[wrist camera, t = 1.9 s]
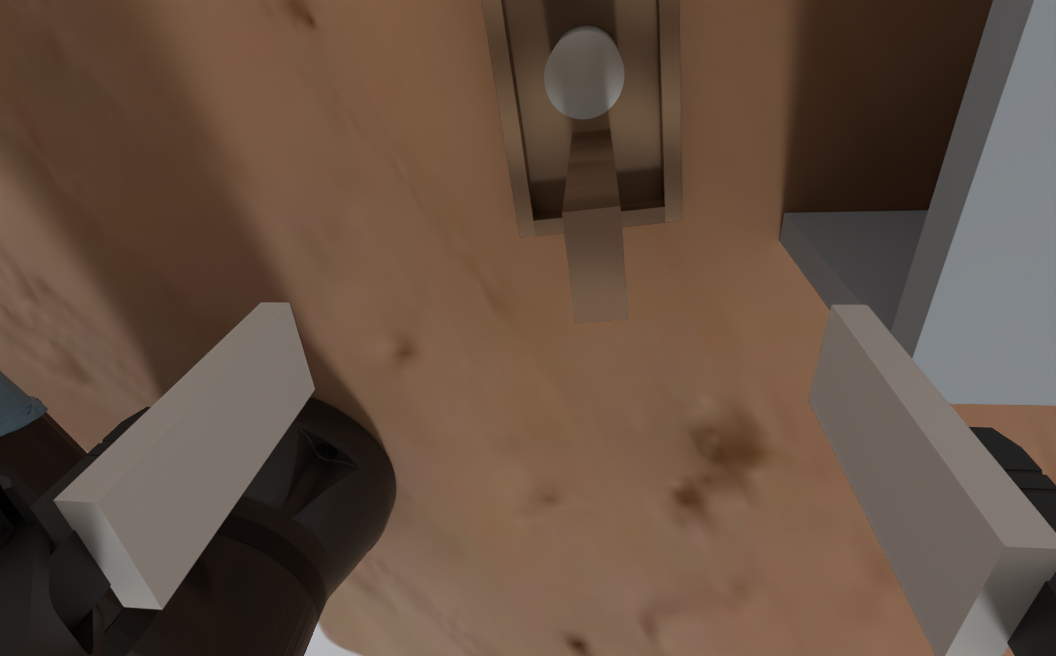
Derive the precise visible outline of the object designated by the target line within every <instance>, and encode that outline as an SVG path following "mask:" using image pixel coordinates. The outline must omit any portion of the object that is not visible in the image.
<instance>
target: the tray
mask: <svg viewBox="0 0 1056 656" xmlns="http://www.w3.org/2000/svg"><path fill="white" fill-rule="evenodd" d="M482 6H483V12H484V18H485V24H486V30H487V37H488V43H489V49H490V55H491V61H492V68H493V74H494V80H495V86H496V92H497V99H498V105H499V111H500V117H501V123H502V130H503V136H504V142H505V148H506V155H507V161H508V167H509V173H510V179H511V186H512V192H513V198H514V204H515V210H516V217H517V223H518V229H519V235H520V238H521V237H531V236H541V235H550V234H560V233H565V242H566V250H567V258H568V267H569V275H570V283H571V292H572V300H573V308H574V317H575V323H587V322H599V321H612V320H625V319H628V311H627V296H626V281H625V267H624V252H623V237H622V227H628V226H638V225H648V224H658V223H668V222H677V221H682V159H681V84H680V8H679V0H482Z"/></svg>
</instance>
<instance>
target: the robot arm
mask: <svg viewBox="0 0 1056 656" xmlns="http://www.w3.org/2000/svg"><path fill="white" fill-rule="evenodd" d="M314 390H315V388H314V384H313V381H312V378H311V374H310V371H309V368H308V364H307V361H306V357H305V354H304V351H303V347H302V344H301V341H300V337H299V334H298V331H297V327H296V324H295V320H294V317H293V314H292V310H291V307H290V304H289V303H273V302H261V303H260V304H259V305H258V306H257V307H256V308H255V309H254V310H253V311H251V312H250V313H249V314H248V315H247V316H246V317H245V318H244V319H243V320H242V321H241V322H240V323H239V324H238V325H237V326H236V327H235V328H234V329H233V330H232V331H230V332H229V333H228V334H227V335H226V336H225V337H224V338H223V339H222V340H221V341H220V342H219V343H218V344H217V345H216V346H215V347H214V348H213V349H212V350H211V351H209V352H208V353H207V354H206V355H205V356H204V357H203V358H202V359H201V360H200V361H199V362H198V363H197V364H196V365H195V366H194V367H193V368H192V369H191V370H190V371H188V372H187V373H186V374H185V375H184V376H183V377H182V378H181V379H180V380H179V381H178V382H177V383H176V384H175V385H174V386H173V387H172V388H171V389H170V390H169V391H168V392H166V393H165V394H164V395H163V396H162V397H161V398H160V399H159V400H158V401H157V402H156V403H155V404H154V405H153V406H152V407H146V408H144V409H143V410H141V411H139V412H138V413H136V414H134V415H133V416H131V417H129V418H128V419H126V420H124V421H123V422H121V423H120V424H119V425H118V426H117V427H116V428H115V429H114V430H113V431H111V432H110V433H109V434H108V435H107V436H106V437H105V438H104V439H103V442H102V443H98V444H97V445H96V446H95V447H94V448H93V449H92V450H91V451H90V452H89V453H87V452H86V451H85V450H84V449H83V448H82V447H81V446H80V445H79V444H78V443H77V442H76V441H75V440H74V439H73V438H72V437H71V436H70V435H69V434H68V433H67V432H66V431H65V430H64V429H63V428H62V427H61V426H60V425H59V424H58V423H57V422H56V421H55V420H54V419H53V418H52V417H51V416H50V415H49V414H48V413H47V410H48V408H47V407H45V406H44V405H43V404H42V402H41V401H40V400H39V399H38V398H35V397H33V396H28V395H27V394H26V393H24V392H23V391H22V390H21V389H20V388H19V387H18V386H17V385H16V384H14V383H13V382H12V381H11V380H10V379H9V378H8V377H7V376H5V375H4V374H3V373H2V372H1V371H0V656H304V654H305V652H306V649H307V647H308V644H309V642H310V639H311V637H312V635H313V632H314V629H315V627H316V625H317V622H318V620H319V618H320V615H321V613H322V611H323V609H324V606H325V604H326V602H327V600H328V598H329V597H330V596H331V594H332V593H333V592H334V591H335V590H336V589H337V588H338V586H339V585H340V584H341V583H342V582H343V581H344V580H345V579H346V577H347V576H348V575H349V574H350V573H351V572H352V570H353V569H354V568H355V567H356V566H357V564H358V563H359V562H360V561H361V560H362V558H363V557H364V556H365V555H366V553H367V552H368V551H369V550H371V549H372V547H373V546H374V545H375V544H376V543H377V541H378V540H379V538H380V537H381V535H382V533H383V531H384V529H385V527H386V524H387V522H388V519H389V517H390V514H391V511H392V509H393V506H394V503H395V498H396V482H395V477H394V473H393V470H392V468H391V465H390V463H389V461H388V459H387V457H386V455H385V454H384V452H383V451H382V449H381V448H380V446H379V445H378V444H377V443H376V441H375V440H374V439H373V438H372V437H371V436H370V435H369V434H368V433H367V432H366V431H365V430H364V429H363V428H362V427H360V426H359V425H358V424H357V423H355V422H354V421H353V420H351V419H350V418H349V417H347V416H346V415H344V414H342V413H341V412H339V411H337V410H335V409H334V408H332V407H330V406H328V405H326V404H323V403H321V402H319V401H316V400H314V399H311V398H310V396H311V395H312V393H313V392H314ZM808 401H809V403H810V405H811V407H812V409H813V411H814V413H815V415H816V417H817V419H818V421H819V423H820V425H821V427H822V429H823V431H824V433H825V435H826V437H827V439H828V441H829V443H830V445H831V447H832V449H833V451H834V453H835V455H836V457H837V459H838V461H839V463H840V465H841V467H842V469H843V471H844V473H845V475H846V477H847V479H848V481H849V483H850V485H851V487H852V489H853V491H854V493H855V495H856V497H857V499H858V501H859V503H860V505H861V507H862V509H863V511H864V513H865V515H866V517H867V519H868V521H869V523H870V525H871V527H872V529H873V531H874V533H875V535H876V537H877V539H878V541H879V543H880V545H881V547H882V549H883V551H884V553H885V555H886V557H887V559H888V561H889V563H890V565H891V568H892V570H893V572H894V574H895V576H896V578H897V580H898V582H899V584H900V586H901V588H902V590H903V592H904V594H905V596H906V598H907V600H908V602H909V604H910V606H911V608H912V610H913V612H914V614H915V616H916V618H917V620H918V622H919V624H920V626H921V628H922V630H923V632H924V634H925V636H926V638H927V640H928V642H929V644H930V646H931V648H932V650H933V652H934V654H935V656H1002V655H1003V653H1004V652H1005V650H1006V649H1007V647H1008V646H1009V647H1010V648H1011V650H1012V652H1013V653H1014V655H1015V656H1056V485H1055V484H1054V483H1053V482H1052V481H1051V479H1050V478H1049V477H1048V476H1047V475H1043V474H1042V470H1041V468H1040V467H1039V466H1038V465H1037V464H1036V463H1035V462H1034V461H1033V460H1032V458H1031V457H1030V456H1029V455H1028V454H1027V453H1026V452H1025V451H1024V450H1023V449H1022V447H1020V446H1019V445H1017V444H1015V443H1014V442H1012V441H1011V440H1009V439H1008V438H1006V437H1005V436H1003V435H1002V434H1000V433H999V432H997V431H996V430H994V429H993V428H985V427H968V426H967V425H966V424H965V422H964V421H963V420H962V419H961V417H960V416H959V415H958V414H957V413H956V411H955V410H954V409H953V408H952V407H951V405H950V404H949V403H948V402H947V401H946V399H945V398H944V397H943V396H942V395H941V393H940V392H939V391H938V390H937V388H936V387H935V386H934V385H933V384H932V382H931V381H930V380H929V379H928V378H927V376H926V375H925V374H924V373H923V372H922V370H921V369H920V368H919V367H918V365H917V364H916V363H915V362H914V361H913V359H912V358H911V357H910V356H909V355H908V353H907V352H906V351H905V350H904V349H903V347H902V346H901V345H900V344H899V342H898V341H897V340H896V339H895V338H894V336H893V335H892V334H891V333H890V332H889V330H888V329H887V328H886V327H885V326H884V324H883V323H882V322H881V321H880V320H879V318H878V317H877V316H876V315H875V313H874V312H873V311H872V310H871V309H870V307H869V306H868V305H831V310H830V314H829V318H828V322H827V326H826V330H825V334H824V338H823V342H822V346H821V351H820V355H819V359H818V363H817V367H816V371H815V375H814V379H813V383H812V388H811V392H810V396H809V400H808Z"/></svg>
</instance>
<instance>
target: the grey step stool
mask: <svg viewBox="0 0 1056 656" xmlns="http://www.w3.org/2000/svg"><path fill="white" fill-rule="evenodd" d="M779 241H780V242H781V244H782V245H783V246H784V248H785V249H786V251H787V252H788V253H789V255H790V256H791V257H792V259H793V260H794V262H795V263H796V264H797V266H798V267H799V268H800V270H801V271H802V273H803V274H804V275H805V277H806V278H807V279H808V281H809V282H810V284H811V285H812V286H813V288H814V289H815V290H816V292H817V293H818V295H819V296H820V297H821V299H822V300H823V301H824V303H825V304H826V305H827V307H828V308H829V310H831V305H868V306H869V307H870V309H871V310H872V311H873V312H874V313H875V315H876V316H877V317H878V318H879V320H880V321H881V322H882V323H883V324H884V326H885V327H886V328H887V329H888V330H889V332H890V333H891V334H892V335H893V336H894V338H895V339H896V340H897V341H898V342H899V344H900V345H901V346H902V347H903V349H904V350H905V351H906V352H907V353H908V355H909V356H910V357H911V358H912V359H913V361H914V362H915V363H916V364H917V365H918V367H919V368H920V369H921V370H922V372H923V373H924V374H925V375H926V376H927V378H928V379H929V380H930V381H931V382H932V384H933V385H934V386H935V387H936V388H937V390H938V391H939V392H940V393H941V395H942V396H943V397H944V398H945V399H946V401H947V402H948V403H949V404H1006V405H1056V0H993V2H992V5H991V9H990V12H989V15H988V18H987V22H986V25H985V28H984V31H983V35H982V38H981V41H980V44H979V48H978V51H977V54H976V57H975V61H974V64H973V67H972V70H971V74H970V77H969V80H968V83H967V86H966V90H965V93H964V96H963V99H962V103H961V106H960V109H959V112H958V116H957V119H956V122H955V125H954V129H953V132H952V135H951V138H950V142H949V145H948V148H947V151H946V155H945V158H944V161H943V164H942V167H941V171H940V174H939V177H938V180H937V184H936V187H935V190H934V193H933V197H932V200H931V203H930V206H929V210H917V211H859V212H801V213H784V218H783V223H782V229H781V234H780V240H779Z"/></svg>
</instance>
